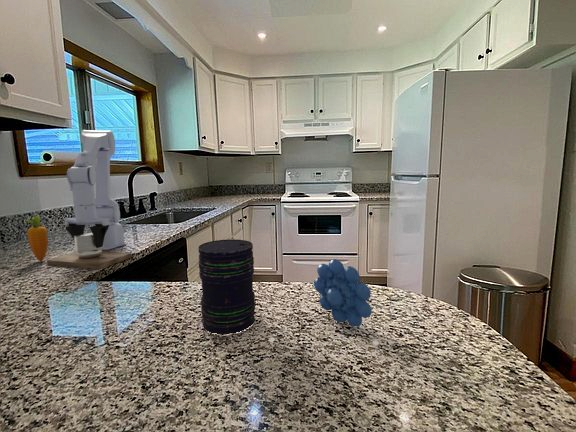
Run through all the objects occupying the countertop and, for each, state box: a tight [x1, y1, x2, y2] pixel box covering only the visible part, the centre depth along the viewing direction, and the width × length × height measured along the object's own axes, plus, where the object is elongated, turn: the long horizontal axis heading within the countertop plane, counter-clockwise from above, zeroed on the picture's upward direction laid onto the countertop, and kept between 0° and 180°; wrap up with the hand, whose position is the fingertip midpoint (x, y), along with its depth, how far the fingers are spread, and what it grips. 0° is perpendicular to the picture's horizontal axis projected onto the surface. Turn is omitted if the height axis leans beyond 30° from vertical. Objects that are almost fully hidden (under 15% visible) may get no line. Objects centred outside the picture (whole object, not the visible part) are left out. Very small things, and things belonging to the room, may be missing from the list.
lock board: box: [46, 250, 133, 270], centre depth 97 cm, size 13×20×2 cm, turn 75°
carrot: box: [25, 215, 49, 262], centre depth 97 cm, size 5×5×15 cm
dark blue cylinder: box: [198, 238, 256, 334], centre depth 55 cm, size 10×10×15 cm
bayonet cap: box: [73, 232, 104, 258], centre depth 96 cm, size 6×7×7 cm
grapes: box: [313, 258, 373, 327], centre depth 54 cm, size 12×7×12 cm, turn 52°
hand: (89, 246), depth 97 cm, fingers open, 6 cm apart
